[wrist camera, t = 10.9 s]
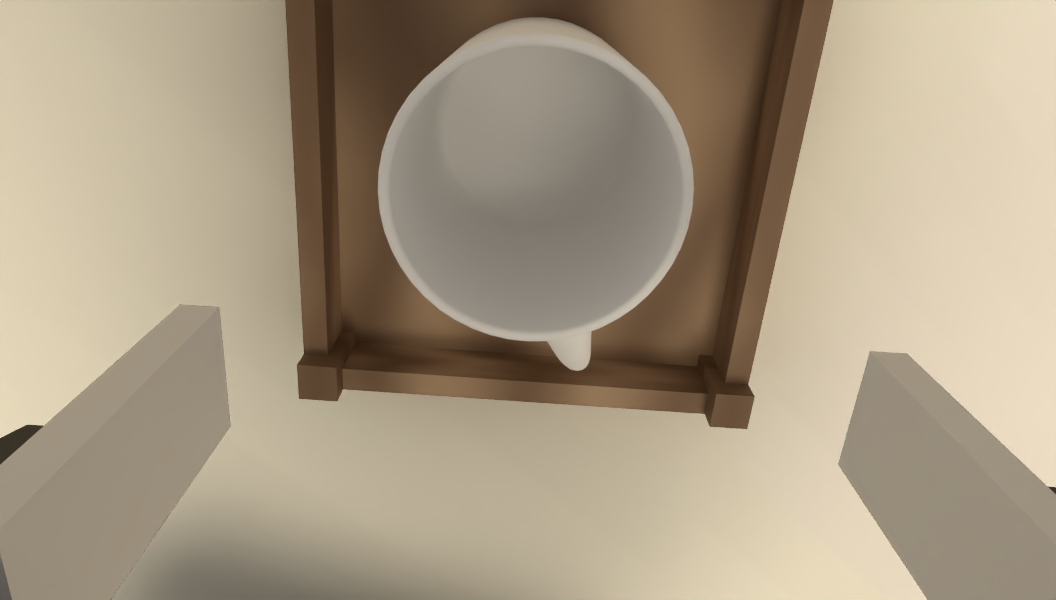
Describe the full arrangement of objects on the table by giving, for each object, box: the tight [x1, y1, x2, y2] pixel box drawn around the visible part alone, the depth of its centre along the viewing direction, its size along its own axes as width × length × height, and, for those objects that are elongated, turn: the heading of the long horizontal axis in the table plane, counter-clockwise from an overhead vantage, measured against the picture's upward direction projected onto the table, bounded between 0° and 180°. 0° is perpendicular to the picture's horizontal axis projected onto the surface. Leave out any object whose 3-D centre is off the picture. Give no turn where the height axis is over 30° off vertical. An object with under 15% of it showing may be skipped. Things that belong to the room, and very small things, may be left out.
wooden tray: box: [285, 0, 833, 429], centre depth 29 cm, size 19×19×4 cm
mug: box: [378, 17, 694, 371], centre depth 26 cm, size 9×12×11 cm
